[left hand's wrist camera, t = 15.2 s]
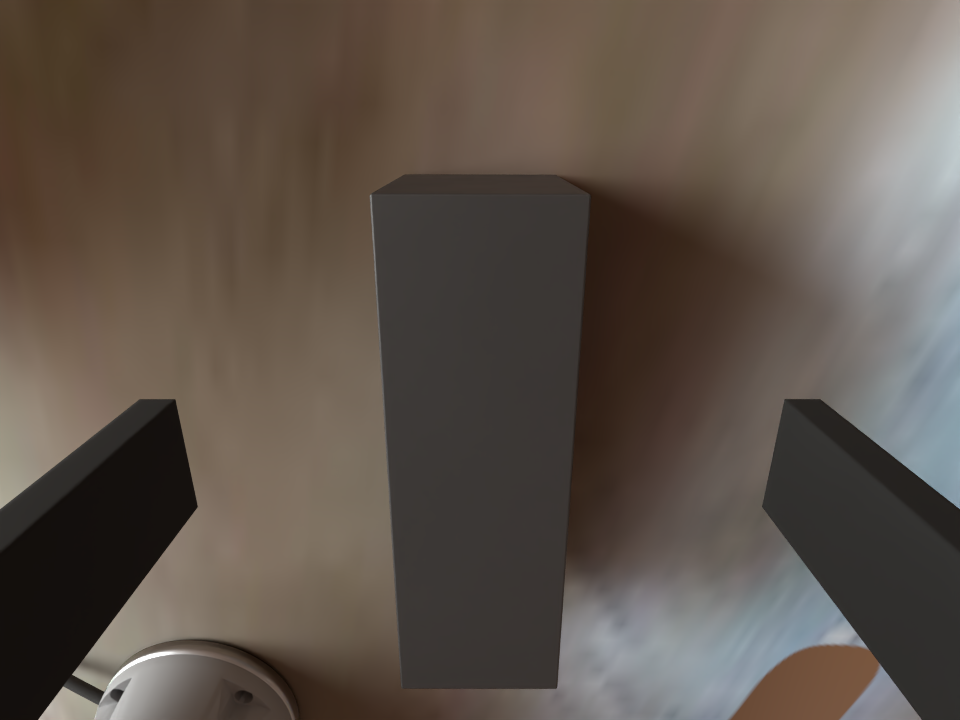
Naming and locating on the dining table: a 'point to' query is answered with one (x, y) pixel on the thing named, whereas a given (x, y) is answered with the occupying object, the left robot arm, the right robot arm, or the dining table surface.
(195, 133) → the dining table surface
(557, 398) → the box
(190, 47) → the dining table surface
